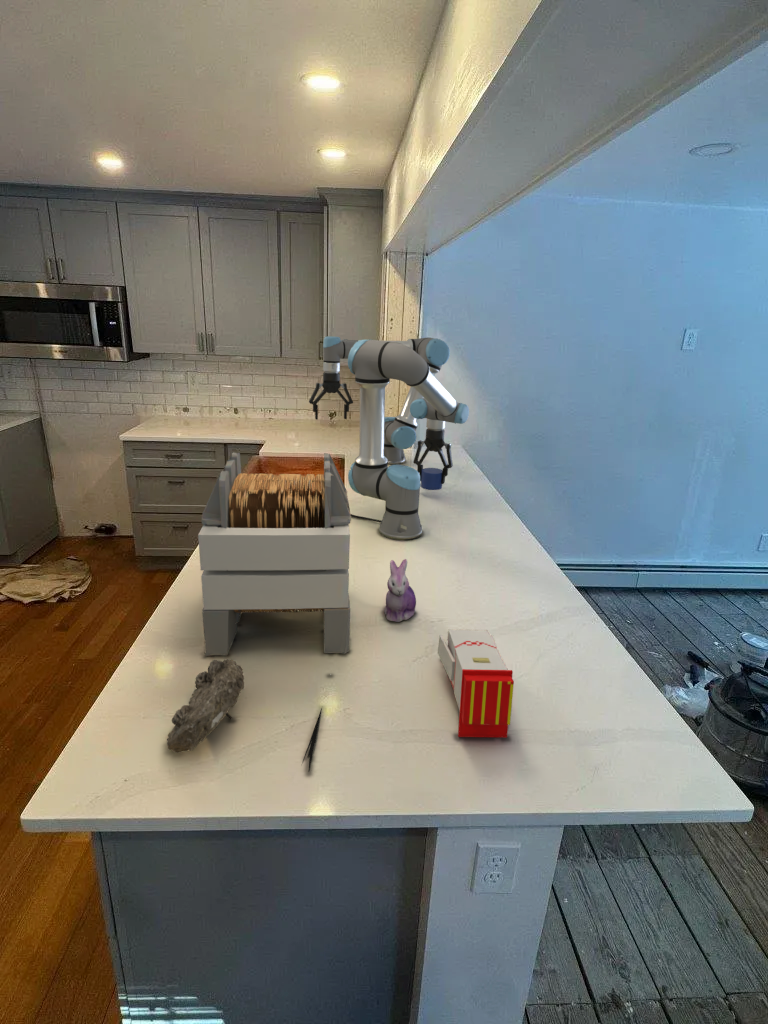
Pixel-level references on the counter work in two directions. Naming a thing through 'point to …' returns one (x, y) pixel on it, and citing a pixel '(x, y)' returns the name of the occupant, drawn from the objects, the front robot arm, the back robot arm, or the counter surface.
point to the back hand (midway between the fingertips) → (330, 418)
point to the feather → (313, 740)
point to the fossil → (206, 705)
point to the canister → (431, 479)
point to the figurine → (399, 594)
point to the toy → (478, 682)
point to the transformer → (275, 551)
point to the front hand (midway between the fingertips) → (431, 481)
